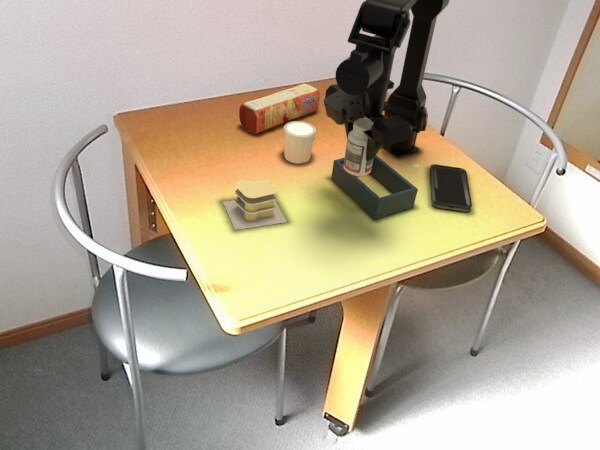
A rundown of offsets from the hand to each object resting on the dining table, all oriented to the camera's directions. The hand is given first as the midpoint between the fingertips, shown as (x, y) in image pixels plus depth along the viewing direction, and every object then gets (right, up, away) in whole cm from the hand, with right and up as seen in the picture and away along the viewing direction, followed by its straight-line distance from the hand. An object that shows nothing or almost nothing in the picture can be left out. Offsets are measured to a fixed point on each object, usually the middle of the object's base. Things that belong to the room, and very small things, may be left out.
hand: (359, 153), depth 115 cm
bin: (+4, -7, +12) cm, 14 cm away
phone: (+20, -6, +15) cm, 26 cm away
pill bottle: (0, -3, +2) cm, 4 cm away
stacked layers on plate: (-20, -11, +3) cm, 23 cm away
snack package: (-16, +12, +33) cm, 39 cm away
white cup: (-12, +1, +20) cm, 24 cm away
